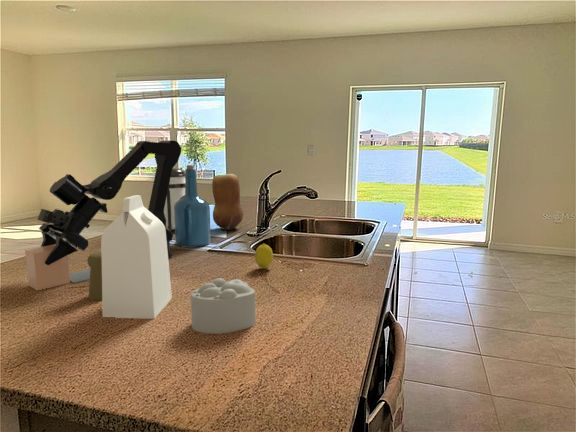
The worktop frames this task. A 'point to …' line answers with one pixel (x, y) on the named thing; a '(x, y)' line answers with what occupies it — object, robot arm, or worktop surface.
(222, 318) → the lumpy-topped squat cylinder
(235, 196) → the butternut squash
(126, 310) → the milk
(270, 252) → the lemon
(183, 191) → the coffee press
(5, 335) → the worktop surface
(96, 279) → the cork
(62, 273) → the pink rectangular block
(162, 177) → the robot arm
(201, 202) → the wine bottle
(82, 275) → the coaster
